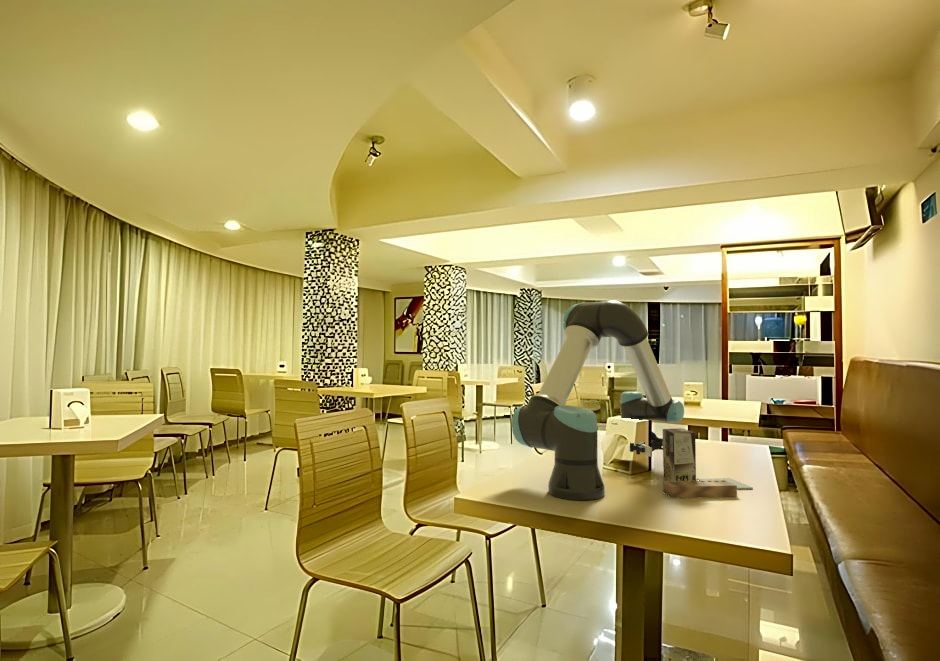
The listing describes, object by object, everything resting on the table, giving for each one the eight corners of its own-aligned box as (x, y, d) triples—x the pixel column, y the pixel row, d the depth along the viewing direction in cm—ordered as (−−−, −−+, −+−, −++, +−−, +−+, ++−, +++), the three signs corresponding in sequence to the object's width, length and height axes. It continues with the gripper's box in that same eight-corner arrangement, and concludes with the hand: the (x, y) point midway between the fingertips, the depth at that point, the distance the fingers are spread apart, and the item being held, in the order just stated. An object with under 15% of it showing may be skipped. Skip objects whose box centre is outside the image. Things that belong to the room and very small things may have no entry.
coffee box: (697, 490, 145) (696, 432, 146) (674, 490, 146) (673, 432, 146) (684, 482, 155) (683, 427, 155) (662, 482, 155) (661, 427, 155)
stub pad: (717, 490, 146) (717, 488, 146) (697, 480, 157) (697, 478, 157) (752, 489, 147) (752, 487, 147) (730, 479, 158) (730, 478, 158)
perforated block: (672, 498, 137) (672, 485, 138) (662, 492, 143) (662, 480, 143) (737, 496, 139) (736, 484, 139) (725, 491, 144) (725, 479, 144)
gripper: (678, 450, 178) (712, 463, 157) (607, 451, 176) (632, 465, 155) (678, 428, 178) (712, 438, 157) (607, 429, 176) (632, 439, 155)
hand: (672, 451), depth 156 cm, fingers open, 13 cm apart
